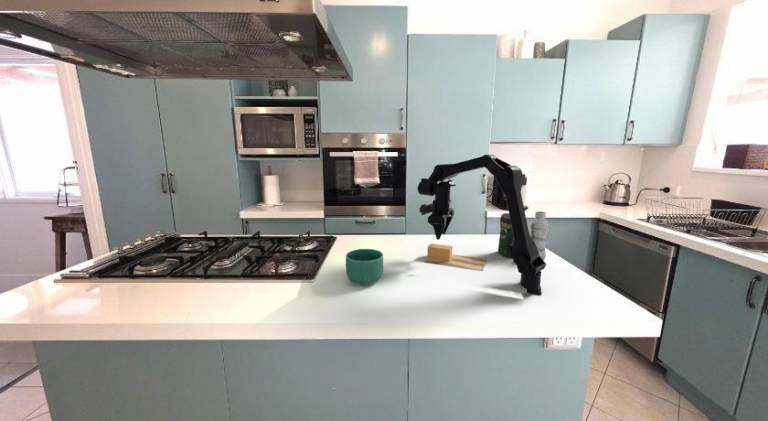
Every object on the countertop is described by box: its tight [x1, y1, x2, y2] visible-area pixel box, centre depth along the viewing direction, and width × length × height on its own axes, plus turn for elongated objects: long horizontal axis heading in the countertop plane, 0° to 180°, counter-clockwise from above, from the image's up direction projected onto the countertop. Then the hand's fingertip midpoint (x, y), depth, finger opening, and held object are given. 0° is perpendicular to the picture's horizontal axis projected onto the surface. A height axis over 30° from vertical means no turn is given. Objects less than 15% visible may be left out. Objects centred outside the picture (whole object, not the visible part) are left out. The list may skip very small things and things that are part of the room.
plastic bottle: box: [530, 211, 550, 261], centre depth 121 cm, size 6×7×20 cm
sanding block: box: [426, 243, 453, 262], centre depth 121 cm, size 5×9×5 cm, turn 66°
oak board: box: [423, 253, 488, 272], centre depth 119 cm, size 14×22×2 cm, turn 66°
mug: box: [345, 248, 384, 286], centre depth 104 cm, size 17×13×10 cm
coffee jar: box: [497, 212, 514, 259], centre depth 125 cm, size 10×8×19 cm
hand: (440, 236), depth 120 cm, fingers open, 9 cm apart
